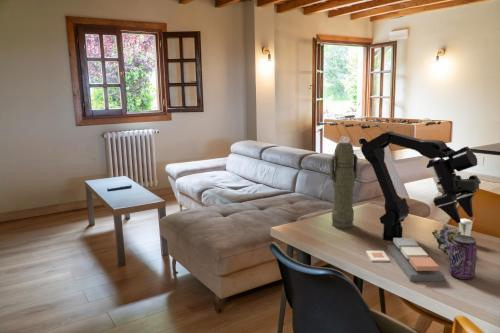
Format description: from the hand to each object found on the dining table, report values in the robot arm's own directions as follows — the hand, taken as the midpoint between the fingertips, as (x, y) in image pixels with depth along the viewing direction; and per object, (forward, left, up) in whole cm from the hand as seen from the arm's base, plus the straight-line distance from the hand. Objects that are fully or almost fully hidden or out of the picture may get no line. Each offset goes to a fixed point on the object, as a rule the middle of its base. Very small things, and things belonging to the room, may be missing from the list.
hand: (465, 219), depth 137 cm
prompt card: (-28, -4, -14) cm, 31 cm away
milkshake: (+4, +16, -14) cm, 21 cm away
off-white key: (-17, -8, -10) cm, 21 cm away
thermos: (-41, +27, -14) cm, 50 cm away
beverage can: (-3, -14, -14) cm, 20 cm away
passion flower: (-4, +6, -14) cm, 15 cm away
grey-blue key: (-18, 0, -10) cm, 21 cm away
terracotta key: (-15, -17, -10) cm, 24 cm away
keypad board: (-17, -8, -14) cm, 23 cm away
